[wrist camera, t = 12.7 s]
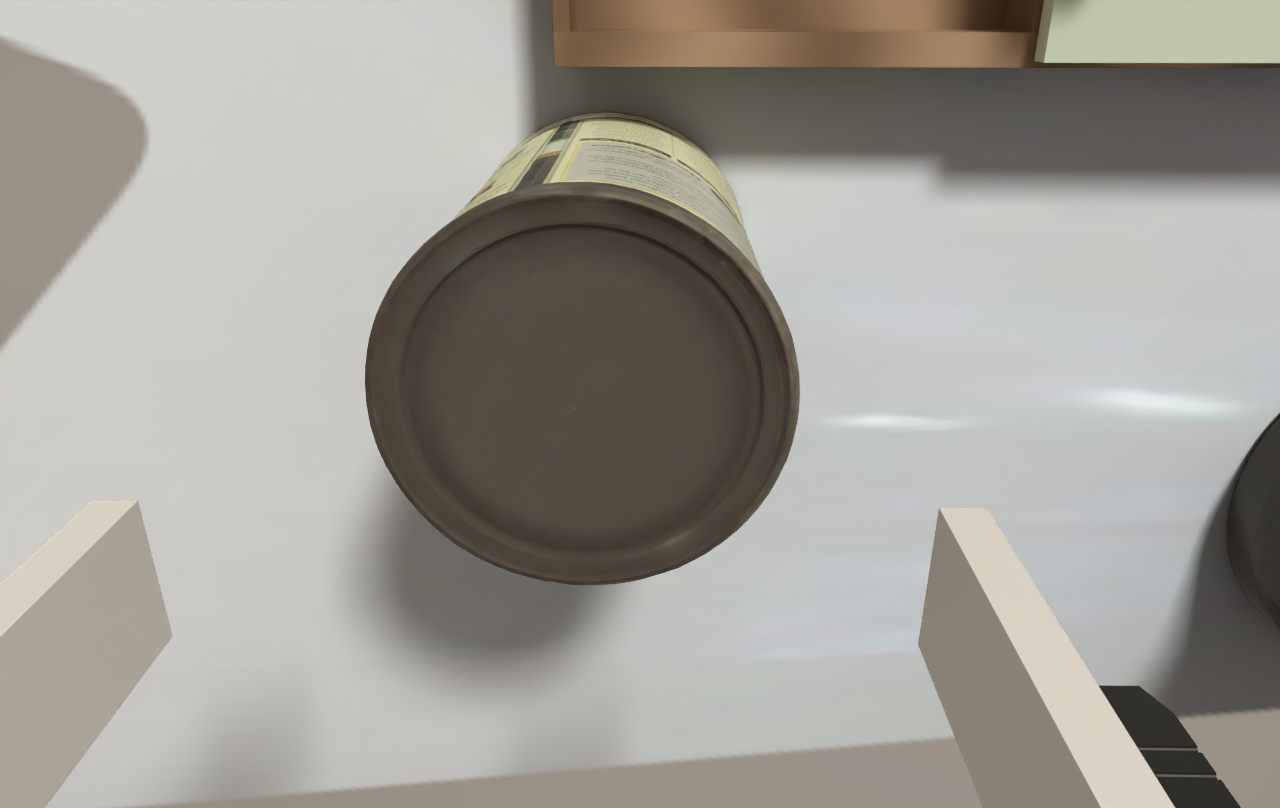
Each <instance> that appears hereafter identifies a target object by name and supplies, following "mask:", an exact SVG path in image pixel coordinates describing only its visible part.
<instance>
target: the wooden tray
mask: <svg viewBox="0 0 1280 808" xmlns="http://www.w3.org/2000/svg"><path fill="white" fill-rule="evenodd" d="M1043 3H1044V0H552V10H553V38H554V66H555V67H989V68H1280V63H1043V62H1037V61H1034V58H1035V52H1036V46H1037V40H1038V34H1039V27H1040V21H1041V15H1042V9H1043Z"/></svg>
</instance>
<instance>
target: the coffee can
mask: <svg viewBox="0 0 1280 808" xmlns="http://www.w3.org/2000/svg"><path fill="white" fill-rule="evenodd" d="M365 389H366V403H367V409H368V415H369V420H370V426H371V429H372V432H373V435H374V438H375V441H376V444H377V447H378V449H379V452H380V454H381V456H382V458H383V460H384V462H385V465H386V467H387V468H388V469H389V471H390V473H391V474H392V476H393V478H394V480H395V481H396V483H397V485H398V486H399V487H400V489H401V490H402V491H403V493H404V494H405V496H406V497H407V498H408V499H409V501H410V502H411V503H412V504H413V505H414V506H415V507H416V509H417V510H418V511H419V512H420V513H421V514H422V515H423V516H424V517H425V518H426V519H427V520H428V521H429V522H430V523H431V524H432V525H433V526H434V527H435V528H436V529H438V530H439V531H440V532H441V533H442V534H443V535H444V536H446V537H447V538H448V539H450V540H451V541H452V542H454V543H455V544H456V545H458V546H459V547H461V548H463V549H465V550H466V551H468V552H469V553H471V554H473V555H474V556H476V557H478V558H480V559H482V560H484V561H486V562H489V563H491V564H493V565H495V566H497V567H500V568H503V569H505V570H508V571H510V572H514V573H517V574H521V575H524V576H528V577H532V578H536V579H540V580H543V581H553V582H559V583H564V584H573V585H603V584H617V583H624V582H630V581H635V580H640V579H644V578H647V577H651V576H654V575H657V574H661V573H664V572H667V571H670V570H673V569H676V568H679V567H681V566H683V565H685V564H687V563H689V562H691V561H693V560H695V559H697V558H698V557H700V556H702V555H704V554H706V553H707V552H709V551H710V550H712V549H713V548H714V547H716V546H717V545H719V544H721V543H722V542H723V541H724V540H726V539H727V538H728V537H729V536H731V535H732V534H733V533H734V532H736V531H737V530H738V529H739V528H740V527H741V526H742V525H743V524H744V523H745V522H746V521H747V520H748V519H749V518H750V517H751V516H752V515H753V513H754V512H755V511H756V510H757V509H758V508H759V506H760V505H761V504H762V502H763V501H764V499H765V498H766V497H767V495H768V494H769V493H770V491H771V489H772V488H773V486H774V484H775V482H776V480H777V479H778V477H779V475H780V473H781V471H782V468H783V466H784V464H785V462H786V460H787V458H788V455H789V452H790V449H791V445H792V442H793V438H794V433H795V429H796V425H797V420H798V412H799V396H800V388H799V371H798V364H797V359H796V353H795V348H794V344H793V339H792V336H791V333H790V330H789V327H788V325H787V323H786V320H785V318H784V316H783V313H782V311H781V308H780V307H779V305H778V303H777V301H776V299H775V297H774V296H773V294H772V292H771V290H770V289H769V287H768V285H767V284H766V282H765V281H764V278H763V276H762V273H761V271H760V268H759V265H758V263H757V260H756V258H755V255H754V252H753V249H752V247H751V244H750V241H749V239H748V237H747V234H746V231H745V229H744V226H743V221H742V217H741V213H740V210H739V206H738V204H737V201H736V199H735V196H734V193H733V191H732V189H731V187H730V185H729V183H728V182H727V180H726V178H725V177H724V175H723V174H722V173H721V171H720V170H719V169H718V167H717V166H716V165H715V163H714V162H713V161H712V160H711V159H710V158H709V157H708V156H707V155H706V154H705V153H704V152H703V151H702V150H701V149H700V148H699V147H698V146H697V145H695V144H694V143H693V142H692V141H691V140H689V139H688V138H686V137H685V136H683V135H682V134H680V133H678V132H676V131H675V130H673V129H671V128H669V127H667V126H665V125H663V124H660V123H658V122H655V121H652V120H650V119H647V118H645V117H642V116H637V115H628V114H621V113H589V114H583V115H578V116H573V117H570V118H566V119H563V120H560V121H557V122H555V123H552V124H550V125H548V126H546V127H544V128H542V129H541V130H538V131H536V132H534V133H533V134H532V135H531V136H530V137H528V138H527V139H525V140H524V141H523V142H521V143H520V144H519V145H518V146H517V147H516V148H515V149H514V150H513V151H512V152H511V153H510V154H509V155H508V156H507V157H506V158H505V159H504V160H503V161H502V163H501V164H500V165H499V167H498V168H497V170H496V171H495V172H494V174H493V176H492V177H491V178H490V179H489V181H488V182H487V183H486V184H485V185H484V187H483V188H482V189H481V190H480V191H479V192H478V194H477V195H476V196H475V197H474V198H473V199H472V200H471V201H470V202H469V203H468V204H467V205H466V207H465V208H464V209H462V210H461V211H460V213H459V214H458V215H457V216H456V217H455V218H454V220H453V221H451V222H450V223H449V224H447V225H446V226H445V227H443V228H442V229H441V230H439V231H438V232H437V233H436V234H435V235H434V236H433V237H431V238H430V239H429V240H428V241H427V242H426V243H424V244H423V245H422V246H421V248H420V249H419V250H418V251H417V252H416V253H415V254H414V255H413V256H412V257H411V258H410V260H409V261H408V262H407V263H406V264H405V266H404V267H403V268H402V269H401V271H400V272H399V273H398V275H397V276H396V278H395V279H394V280H393V282H392V284H391V285H390V287H389V289H388V291H387V293H386V295H385V297H384V299H383V301H382V303H381V305H380V307H379V310H378V312H377V314H376V317H375V320H374V323H373V326H372V330H371V334H370V337H369V343H368V349H367V357H366V366H365Z"/></svg>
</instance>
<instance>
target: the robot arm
mask: <svg viewBox="0 0 1280 808" xmlns="http://www.w3.org/2000/svg"><path fill="white" fill-rule="evenodd" d="M1227 542H1228V551H1229V557H1230V561H1231V565H1232V568H1233V571H1234V574H1235V576H1236V579H1237V581H1238V583H1239V585H1240V587H1241V588H1242V590H1243V592H1244V593H1245V595H1246V596H1247V597H1248V599H1249V600H1250V601H1251V602H1252V603H1253V605H1254V606H1255V607H1256V608H1257V609H1258V610H1259V611H1260V612H1261V613H1262V614H1263V615H1264V616H1265V617H1266V618H1267V619H1268V620H1269V621H1270V622H1271V623H1272V624H1273V626H1274V627H1275V628H1276V629H1277V630H1278V631H1279V632H1280V418H1279V419H1278V420H1277V421H1276V422H1275V423H1274V424H1273V426H1272V427H1271V428H1270V429H1269V431H1268V432H1267V433H1266V434H1265V436H1264V437H1263V439H1262V440H1261V441H1260V443H1259V444H1258V446H1257V447H1256V449H1255V450H1254V452H1253V454H1252V455H1251V457H1250V458H1249V460H1248V462H1247V464H1246V466H1245V468H1244V470H1243V472H1242V474H1241V476H1240V479H1239V481H1238V483H1237V486H1236V489H1235V492H1234V495H1233V499H1232V503H1231V507H1230V512H1229V518H1228V529H1227ZM171 638H172V632H171V628H170V624H169V620H168V617H167V613H166V609H165V605H164V601H163V597H162V593H161V589H160V585H159V581H158V578H157V574H156V570H155V566H154V562H153V558H152V554H151V550H150V546H149V542H148V538H147V535H146V531H145V527H144V523H143V519H142V515H141V511H140V507H139V503H138V501H117V500H92V501H90V502H89V503H88V504H87V505H86V506H85V507H84V508H83V509H82V510H81V511H79V512H78V513H77V514H76V515H75V516H74V517H73V518H72V519H71V520H70V521H68V522H67V523H66V524H65V525H64V526H63V527H62V528H61V529H60V530H59V531H57V532H56V533H55V534H54V535H53V536H52V537H51V538H50V539H49V540H48V541H46V542H45V543H44V544H43V545H42V546H41V547H40V548H39V549H38V550H37V551H35V552H34V553H33V554H32V555H31V556H30V557H29V558H28V559H27V560H26V561H24V562H23V563H22V564H21V565H20V566H19V567H18V568H17V569H16V570H15V571H13V572H12V573H11V574H10V575H9V576H8V577H7V578H6V579H5V580H4V581H2V582H1V583H0V808H45V807H46V805H47V804H48V803H49V801H50V800H51V799H52V797H53V796H54V794H55V793H56V792H57V790H58V789H59V788H60V786H61V785H62V784H63V782H64V781H65V780H66V778H67V777H68V776H69V774H70V773H71V772H72V770H73V769H74V768H75V766H76V765H77V764H78V762H79V761H80V760H81V758H82V757H83V756H84V754H85V753H86V752H87V750H88V749H89V748H90V746H91V745H92V743H93V742H94V741H95V739H96V738H97V737H98V735H99V734H100V733H101V731H102V730H103V729H104V727H105V726H106V725H107V723H108V722H109V721H110V719H111V718H112V717H113V715H114V714H115V713H116V711H117V710H118V709H119V707H120V706H121V705H122V703H123V702H124V701H125V699H126V698H127V697H128V695H129V694H130V693H131V691H132V690H133V688H134V687H135V686H136V684H137V683H138V682H139V680H140V679H141V678H142V676H143V675H144V674H145V672H146V671H147V670H148V668H149V667H150V666H151V664H152V663H153V662H154V660H155V659H156V658H157V656H158V655H159V654H160V652H161V651H162V650H163V648H164V647H165V646H166V644H167V643H168V642H169V640H170V639H171ZM918 645H919V648H920V650H921V653H922V655H923V658H924V660H925V663H926V665H927V668H928V670H929V673H930V675H931V678H932V681H933V683H934V686H935V688H936V691H937V693H938V696H939V698H940V701H941V703H942V706H943V708H944V711H945V713H946V716H947V718H948V721H949V723H950V726H951V729H952V731H953V734H954V736H955V739H956V741H957V744H958V746H959V749H960V751H961V754H962V756H963V758H964V761H965V764H966V766H967V769H968V771H969V774H970V776H971V779H972V782H973V784H974V787H975V789H976V791H977V794H978V797H979V799H980V802H981V804H982V807H983V808H1240V806H1239V805H1238V803H1237V802H1236V800H1235V799H1234V797H1233V796H1232V795H1231V793H1230V792H1229V790H1228V789H1227V788H1226V786H1225V785H1224V783H1223V782H1222V781H1221V780H1217V778H1216V772H1215V771H1214V769H1213V768H1212V766H1211V765H1210V764H1209V762H1208V761H1207V760H1206V758H1205V757H1204V755H1203V754H1202V753H1198V751H1197V745H1196V744H1195V743H1194V741H1193V740H1192V738H1191V737H1190V735H1189V734H1188V733H1187V731H1186V730H1185V729H1184V727H1183V726H1182V724H1181V723H1180V721H1179V720H1178V719H1177V717H1176V716H1175V714H1174V713H1172V712H1171V711H1170V710H1168V709H1167V708H1166V707H1165V706H1163V705H1162V704H1161V703H1160V702H1158V701H1157V700H1156V699H1155V698H1153V697H1152V696H1151V695H1150V694H1148V693H1147V692H1146V691H1144V690H1143V689H1142V688H1141V687H1139V686H1098V684H1097V683H1096V681H1095V680H1094V678H1093V676H1092V675H1091V673H1090V672H1089V670H1088V668H1087V667H1086V665H1085V664H1084V662H1083V660H1082V659H1081V657H1080V656H1079V654H1078V653H1077V651H1076V649H1075V648H1074V646H1073V645H1072V643H1071V641H1070V640H1069V638H1068V637H1067V635H1066V633H1065V632H1064V630H1063V629H1062V627H1061V626H1060V624H1059V622H1058V621H1057V619H1056V618H1055V616H1054V614H1053V613H1052V611H1051V610H1050V608H1049V606H1048V605H1047V603H1046V602H1045V600H1044V599H1043V597H1042V595H1041V594H1040V592H1039V591H1038V589H1037V587H1036V586H1035V584H1034V583H1033V581H1032V579H1031V578H1030V576H1029V575H1028V573H1027V572H1026V570H1025V568H1024V567H1023V565H1022V564H1021V562H1020V560H1019V559H1018V557H1017V556H1016V554H1015V552H1014V551H1013V549H1012V548H1011V546H1010V545H1009V543H1008V541H1007V540H1006V538H1005V537H1004V535H1003V533H1002V532H1001V530H1000V529H999V527H998V525H997V524H996V522H995V521H994V519H993V518H992V516H991V514H990V513H989V511H988V510H987V508H939V512H938V518H937V525H936V531H935V538H934V545H933V551H932V558H931V564H930V571H929V577H928V584H927V590H926V597H925V603H924V610H923V616H922V623H921V630H920V636H919V643H918Z"/></svg>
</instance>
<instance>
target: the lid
mask: <svg viewBox="0 0 1280 808" xmlns="http://www.w3.org/2000/svg"><path fill="white" fill-rule="evenodd" d="M1034 61H1037V62H1043V63H1280V0H1044V3H1043V9H1042V15H1041V21H1040V27H1039V34H1038V40H1037V46H1036V52H1035V58H1034Z"/></svg>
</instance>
